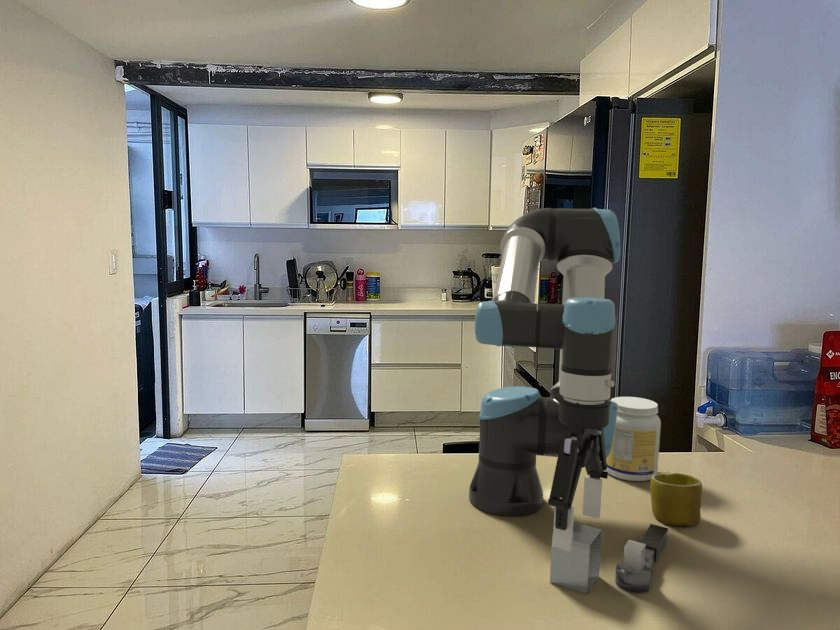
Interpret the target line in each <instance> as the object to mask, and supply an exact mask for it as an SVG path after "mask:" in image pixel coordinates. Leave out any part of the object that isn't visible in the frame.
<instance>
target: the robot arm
mask: <svg viewBox="0 0 840 630" xmlns="http://www.w3.org/2000/svg"><path fill="white" fill-rule="evenodd" d="M620 235H621V234H620V228H619V221H618V218H617V215H616V213H615V212H614V211H612V210H611V209H605V208H603V209H602V208H597V207H591V208H553V207H552V208H551V207H549V208H548V207H545V208H544V207H543V208H537V209H535V210H532V211H529V212H527V213H525V214H523V215H521V216H519V217H518V218H517V219H516V220H514V221H513V222H512V223H511V224H510V225H509V226H508V227H507V228H506V230H505V231H504V233H503V235H502V237H501V240H500V244H499V251H500V255H501V259H500V260H501V261H500V265H499V270H498V274H497V279H496V282H495V288H494V292H493V296H492V298H491V300H488V301H481V302H479V303H478V304H477V306H476V310H475V315H474V317H475V318H474V334H475V339H476V341H477V342H478V343H479V344H480V345H487V346H489V345H490V346H496V347H517V348H518V347H519V348H520V347H521V348H537V349H551V350H553V349H554V350H559V369H558V371H559V372H558V382H557V383H555V384H554V385H553V386H552V387H551V388H550V395H549V397H548V396H547V397H545V396H541V394H540V391H539V390H538V389H537V388H534V387H530V386H525V385H524V386H523V385H522V386H520V385H519V386H506V387H505V386H504V387H501V388H496V389H492V390H490V391H488V392H486V393H485V394H484V395H483V397H482V398H481V401H480V413H479V415H478V419H479V439H478V440H479V443H478V463H477V466H476V468H475V471H474V474H473V477H472V479H471V482H470V484H469V489H468V500H469V502H470V503H471V504H472V505H473V506H474V507H475V508H477V509H479V510H481V511H482V512H486V513H489V514H493V515H496V516H497V515H499V516H506V517H507V516H508V517H519V516H526V515H527V516H528V515H530V514H533V513H536V512H538V511H539V510H541V508H542V507H543V505H544V491H543V487H542V483H541V480H540V476H539V473H538V470H537V456H542V457H551V458H552V457H553V458H557V460H556V464H555V470H554V474H553V479H552V484H551V489H550V494H549V498H548V501H547V504H548V506H550V507H553V508H554V509H553V511H554V514H553V530H552V531H553V532H552V534H553V547H557V548H560V549H563V550H567V551H571V550H572V537H573V522H574V516H575V514H574V513H575V506H573V502H574V497H575V495H576V491H577V487H578V483H579V479H580V477H581V472H582V470H583V468H584V469H585V472H586V475H585V476H584V482H583V483H584V484H583V499H582V500H583V501H582V515H583V516H586V517H589V518H593V519H597V520H599V519H600V518H601V506H602V488H603V479H605V480H607V479H608V477H609V473H608V472H606V469H607V462H606V458H607V457H608V456H609V454H610V451H611V447H612V442H613V437H614V432H615V426H616V419H617V408H618V405H617V403H615V402H613V401H611V388H613V387H615V382H614V380H611V379H612V372H613V371H612V369H613V368H612V363H613V353H614V352H613V351H614V337H615V326H616V323H617V321H616V315H615V314H616V305H615V303H614V302H613V300H611V299H609V298H607V299H606V298H605V288H606V287H605V285H606V284H605V283H606V280H605V277H606V276H607V275H608V274H609V273H610V272H611V271H612V270H613V265H614V264H616V263H618V262H619V261H620V257H621V236H620ZM541 261H542V262H543V261H546V262H547V261H548V262H556V269H557V270H558V272H559V273H561V274H562V276H563V282H562V283H563V284H562V301H561V302H562V303H561V304H558V303H557V304H555V303H554V304H551V303H535V301H536V299H535V298H536V291H537V284H538V283H537V282H538V281H537V280H538V274H539V266H540V265H539V264H540V263H541Z"/></svg>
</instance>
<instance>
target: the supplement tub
mask: <svg viewBox="0 0 840 630" xmlns="http://www.w3.org/2000/svg"><path fill="white" fill-rule="evenodd" d="M611 401H613V402H615V403H617V405H618V408H617V419H616V426H615V432H614V437H613V442H612V447H611V451H610V454H609V456H608V457H607V458H606V462H607V469H606V471H605V472H608V475H611V476H612V477H614V478H617V479H618V480H619V479H620V480H624V481H629V482H647V481H651V477H652V476H653V475H656V474H658V471H659V470H658V469H659V458H660V457H659V455H660V454H659V453H660V444H661V443H660V441H661V439H660V438H661V429H662V428H661V427H662V422H661V421H662V420H661V419H660V417H659V415H658V413H659V406H658V405H659V404H658V403H657V402H655V401H654V400H651V399H647V398H643V397H637V396H616V397H613V398H610V402H611Z"/></svg>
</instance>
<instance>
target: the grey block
mask: <svg viewBox="0 0 840 630" xmlns="http://www.w3.org/2000/svg"><path fill="white" fill-rule="evenodd" d="M602 534H603V529H600V528H597V527H593V526H589V525H586V524H583V523H577V522H575V521H573V537H572V550H571V551H567V550H563V549H560V548H557V547H553V533H552V534H551V537H552V538H551V550H550V551H551V553H550V567H549V568H550V575H549V583H552V584H554V585H556V586H557V585H558V586H560V587H563V588H567V589H569V590H573V591H576V592H579V593H581V594H585V595H588V594H589V593H590V591H591V590H592V588H593V587H594V585H595V583H596V582H597V581H598V579H599V578H600V569H601V554H602V553H601V551H602V550H601V549H602V536H603V535H602Z"/></svg>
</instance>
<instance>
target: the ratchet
mask: <svg viewBox="0 0 840 630" xmlns="http://www.w3.org/2000/svg"><path fill="white" fill-rule="evenodd" d="M668 534H669V528H668V527H666V526H661V525H656V524H653V523H650V525H649V526H648V528H647V529H646V531H645V533H644V534H643V535H642V537H641V539H640V540H639V541H636V540H631V539H628V541H626V543H625V545H624V547H623V548H624V549H623V560H620V561H618V562H617V563H616V565H615V578H614V579H615V581H614V582H615V585H616V586H617V587H619V588H620V589H621V590H622V591H625V592H628V593H632V594H644V593H647V592H649V591H650V589H651V579H652V574H653V571H654V564H655V563H657V561H658V560H659V557H660V556H661V553H662V552H663V550H664V548H665V546H666V544H667V543H668Z"/></svg>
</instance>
